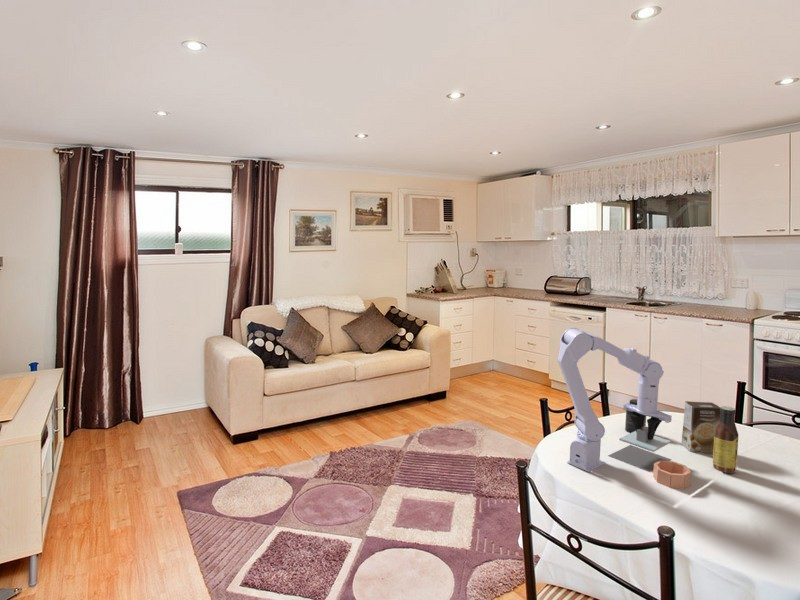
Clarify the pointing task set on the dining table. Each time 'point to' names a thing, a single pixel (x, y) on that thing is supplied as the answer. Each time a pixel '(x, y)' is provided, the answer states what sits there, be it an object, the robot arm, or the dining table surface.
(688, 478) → the bowl
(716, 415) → the coffee box
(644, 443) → the cover
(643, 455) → the mat
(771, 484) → the dining table surface
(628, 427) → the supplement bottle
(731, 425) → the sauce bottle
